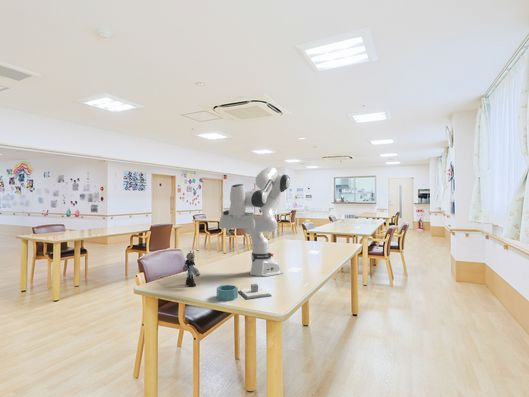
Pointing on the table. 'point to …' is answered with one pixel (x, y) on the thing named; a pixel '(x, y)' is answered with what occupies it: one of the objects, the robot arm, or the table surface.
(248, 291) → the cover sheet
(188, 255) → the robot
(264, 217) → the robot arm
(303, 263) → the table surface
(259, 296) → the mat
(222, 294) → the bowl
